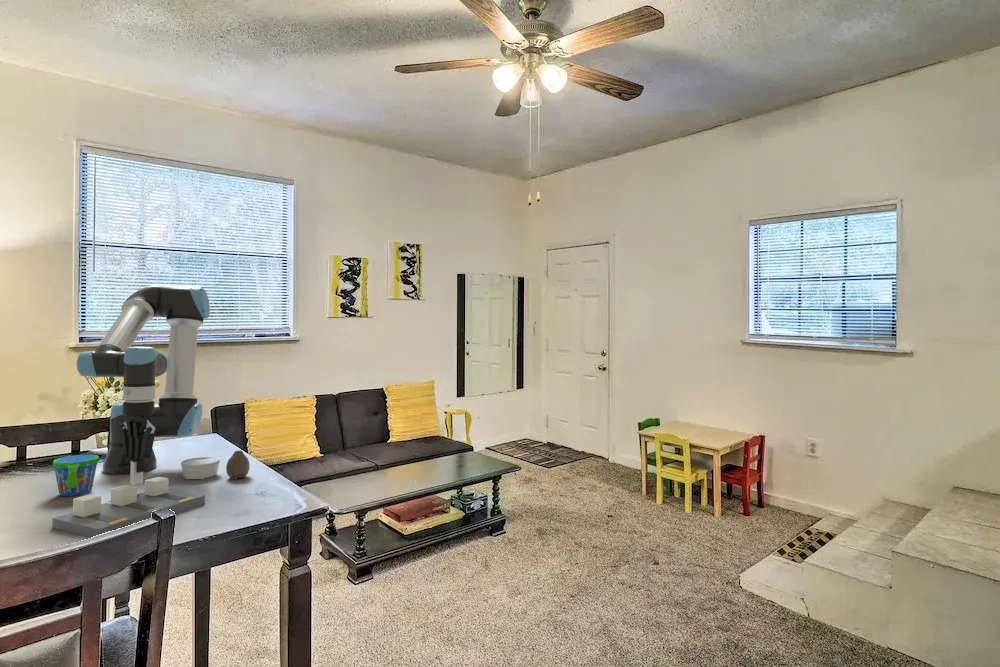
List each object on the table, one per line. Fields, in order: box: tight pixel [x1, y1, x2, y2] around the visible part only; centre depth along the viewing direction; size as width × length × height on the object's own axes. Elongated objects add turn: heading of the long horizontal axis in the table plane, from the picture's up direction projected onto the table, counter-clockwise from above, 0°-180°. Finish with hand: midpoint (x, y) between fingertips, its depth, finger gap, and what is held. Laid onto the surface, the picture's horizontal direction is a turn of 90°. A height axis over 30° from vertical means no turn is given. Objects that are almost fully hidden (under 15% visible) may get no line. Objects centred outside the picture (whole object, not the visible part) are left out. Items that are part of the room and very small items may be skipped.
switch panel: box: [51, 487, 206, 538], centre depth 139 cm, size 17×28×3 cm, turn 159°
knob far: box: [144, 476, 169, 496], centre depth 149 cm, size 4×4×4 cm
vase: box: [225, 450, 251, 479], centre depth 175 cm, size 7×7×9 cm
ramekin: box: [180, 456, 221, 480], centre depth 175 cm, size 11×11×5 cm
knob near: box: [72, 493, 102, 517], centre depth 132 cm, size 4×4×4 cm
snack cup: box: [52, 454, 100, 497], centre depth 155 cm, size 16×10×10 cm
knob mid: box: [110, 484, 138, 506], centre depth 140 cm, size 4×4×4 cm
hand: (136, 483), depth 151 cm, fingers closed
